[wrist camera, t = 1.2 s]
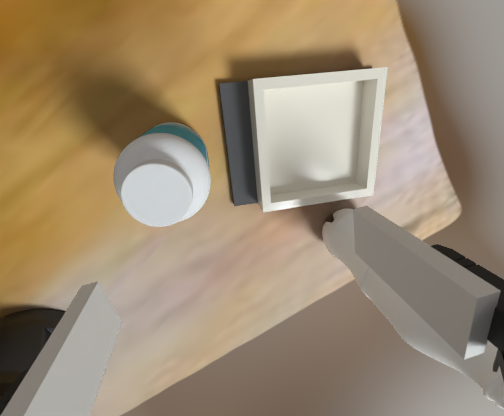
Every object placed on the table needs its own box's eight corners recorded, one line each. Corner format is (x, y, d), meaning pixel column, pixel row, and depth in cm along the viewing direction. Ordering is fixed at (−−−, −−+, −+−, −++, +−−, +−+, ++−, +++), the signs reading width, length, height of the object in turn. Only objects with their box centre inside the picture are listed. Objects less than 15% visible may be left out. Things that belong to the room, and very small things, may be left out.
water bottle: (357, 246, 40) (564, 443, 17) (313, 248, 38) (475, 465, 16) (368, 203, 37) (632, 369, 14) (321, 203, 36) (531, 388, 13)
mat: (233, 203, 33) (234, 206, 32) (218, 83, 28) (219, 83, 27) (362, 184, 36) (366, 186, 35) (373, 70, 30) (377, 69, 29)
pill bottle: (128, 135, 28) (71, 163, 16) (192, 111, 28) (185, 122, 16) (159, 195, 31) (132, 258, 19) (217, 174, 31) (227, 222, 19)
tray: (257, 202, 33) (263, 212, 30) (247, 80, 27) (252, 79, 24) (359, 187, 35) (373, 195, 32) (369, 70, 29) (387, 67, 26)
